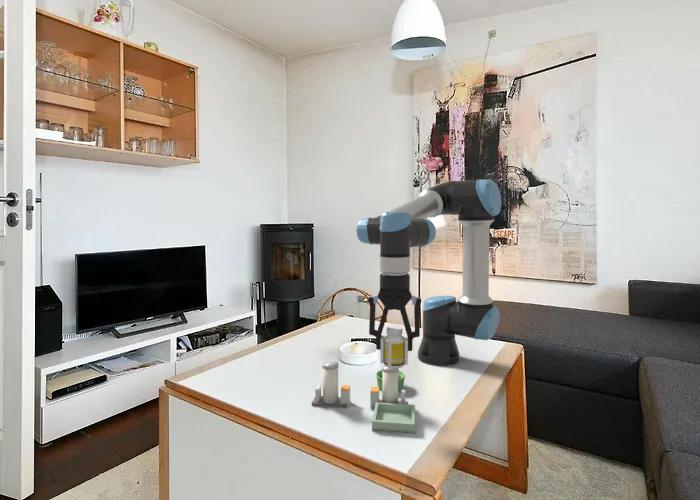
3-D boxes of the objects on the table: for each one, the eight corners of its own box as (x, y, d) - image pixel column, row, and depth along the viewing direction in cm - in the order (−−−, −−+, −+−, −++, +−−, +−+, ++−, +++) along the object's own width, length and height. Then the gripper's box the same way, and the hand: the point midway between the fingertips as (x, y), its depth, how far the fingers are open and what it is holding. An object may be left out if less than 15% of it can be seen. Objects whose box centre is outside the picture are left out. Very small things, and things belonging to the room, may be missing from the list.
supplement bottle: (408, 364, 110) (408, 327, 109) (398, 370, 106) (398, 332, 105) (390, 359, 113) (390, 324, 112) (379, 366, 109) (379, 328, 108)
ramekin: (397, 396, 126) (397, 382, 126) (370, 390, 131) (370, 376, 130) (409, 385, 134) (409, 372, 133) (384, 379, 138) (384, 366, 138)
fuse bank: (408, 403, 121) (408, 364, 120) (407, 412, 116) (408, 371, 115) (315, 398, 125) (315, 359, 124) (311, 405, 120) (311, 366, 119)
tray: (414, 413, 116) (414, 404, 115) (414, 434, 105) (414, 424, 105) (375, 410, 117) (375, 402, 117) (371, 430, 107) (371, 421, 106)
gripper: (431, 271, 110) (430, 358, 112) (360, 270, 112) (360, 355, 115) (432, 276, 102) (431, 369, 104) (356, 274, 105) (356, 365, 107)
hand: (394, 362), depth 109 cm, fingers closed on supplement bottle, 5 cm apart
